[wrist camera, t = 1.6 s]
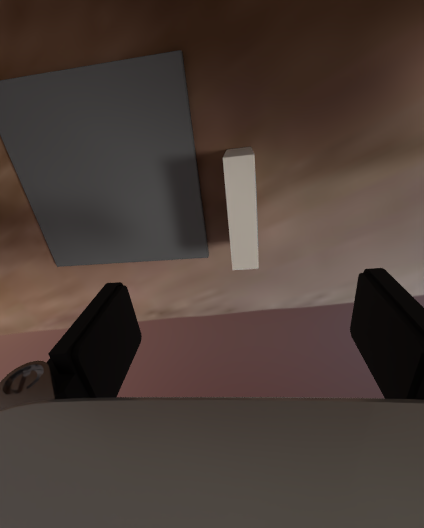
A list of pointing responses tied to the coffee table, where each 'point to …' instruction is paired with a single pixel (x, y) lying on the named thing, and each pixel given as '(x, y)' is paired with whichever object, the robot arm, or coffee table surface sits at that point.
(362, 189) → the coffee table surface
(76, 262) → the mat
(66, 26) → the coffee table surface
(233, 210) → the block
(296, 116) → the coffee table surface
